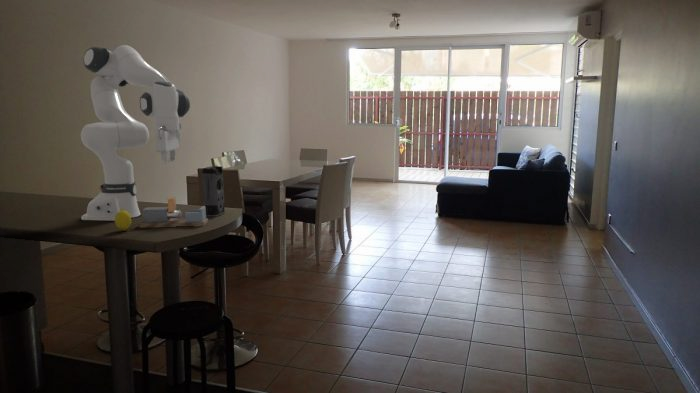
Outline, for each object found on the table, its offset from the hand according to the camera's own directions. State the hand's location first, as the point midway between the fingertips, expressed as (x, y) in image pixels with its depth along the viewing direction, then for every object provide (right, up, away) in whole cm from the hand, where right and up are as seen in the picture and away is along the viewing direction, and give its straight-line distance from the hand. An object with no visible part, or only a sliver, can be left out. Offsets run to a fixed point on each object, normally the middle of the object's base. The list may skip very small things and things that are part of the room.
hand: (169, 162), depth 203 cm
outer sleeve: (-6, -22, +4) cm, 23 cm away
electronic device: (+11, -21, +23) cm, 33 cm away
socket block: (+9, -22, +4) cm, 24 cm away
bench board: (+1, -24, +4) cm, 24 cm away
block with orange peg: (-4, -21, +3) cm, 22 cm away
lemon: (-15, -26, -6) cm, 30 cm away
